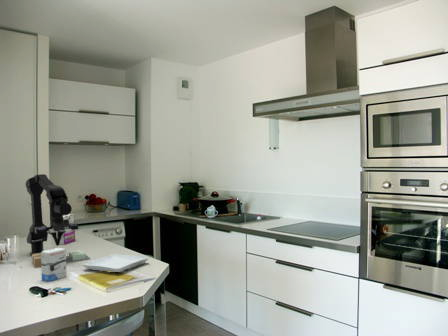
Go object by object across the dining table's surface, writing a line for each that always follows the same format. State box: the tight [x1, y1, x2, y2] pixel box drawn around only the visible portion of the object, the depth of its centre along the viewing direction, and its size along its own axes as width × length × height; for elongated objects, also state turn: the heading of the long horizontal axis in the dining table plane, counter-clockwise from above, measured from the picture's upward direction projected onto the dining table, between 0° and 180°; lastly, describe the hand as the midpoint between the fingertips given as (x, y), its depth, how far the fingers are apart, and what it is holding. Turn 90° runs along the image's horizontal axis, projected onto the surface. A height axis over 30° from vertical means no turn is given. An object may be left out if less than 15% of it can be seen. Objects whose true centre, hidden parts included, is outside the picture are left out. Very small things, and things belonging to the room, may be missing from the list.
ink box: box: [40, 247, 68, 283], centre depth 157 cm, size 8×5×12 cm, turn 148°
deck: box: [31, 253, 41, 268], centre depth 182 cm, size 12×13×4 cm
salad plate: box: [82, 253, 149, 273], centre depth 172 cm, size 21×21×3 cm
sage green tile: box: [68, 249, 86, 260], centre depth 189 cm, size 9×6×2 cm, turn 34°
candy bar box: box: [56, 213, 76, 246], centre depth 228 cm, size 11×5×16 cm, turn 168°
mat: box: [66, 253, 91, 264], centre depth 189 cm, size 13×12×1 cm
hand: (57, 245), depth 184 cm, fingers closed
